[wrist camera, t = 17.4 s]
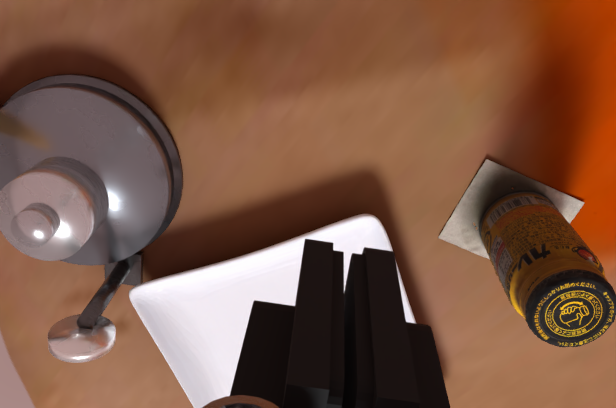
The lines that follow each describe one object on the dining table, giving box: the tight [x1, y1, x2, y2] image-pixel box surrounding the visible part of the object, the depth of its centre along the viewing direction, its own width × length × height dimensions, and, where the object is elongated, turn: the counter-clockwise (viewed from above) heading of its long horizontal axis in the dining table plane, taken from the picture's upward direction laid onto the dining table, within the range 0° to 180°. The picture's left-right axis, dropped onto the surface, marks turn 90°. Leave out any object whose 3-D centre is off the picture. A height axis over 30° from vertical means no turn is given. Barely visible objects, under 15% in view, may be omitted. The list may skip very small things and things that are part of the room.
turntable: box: [0, 83, 174, 265], centre depth 41 cm, size 18×14×6 cm
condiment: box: [438, 159, 616, 347], centre depth 39 cm, size 7×8×12 cm
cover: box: [0, 157, 109, 261], centre depth 41 cm, size 6×6×6 cm
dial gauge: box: [48, 251, 143, 363], centre depth 43 cm, size 3×4×11 cm
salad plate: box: [129, 214, 416, 408], centre depth 49 cm, size 21×21×3 cm
